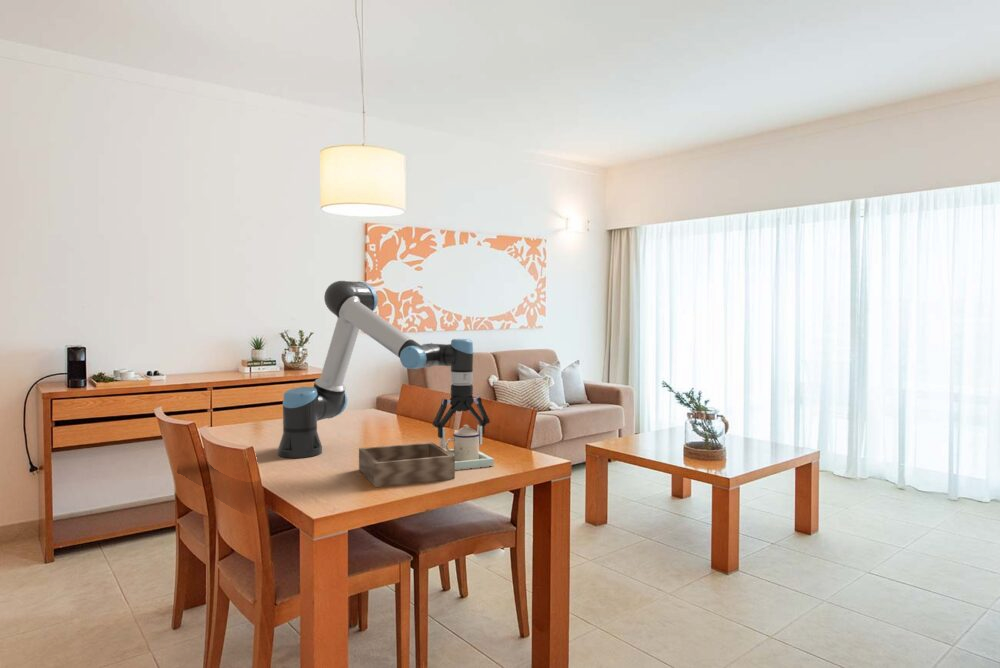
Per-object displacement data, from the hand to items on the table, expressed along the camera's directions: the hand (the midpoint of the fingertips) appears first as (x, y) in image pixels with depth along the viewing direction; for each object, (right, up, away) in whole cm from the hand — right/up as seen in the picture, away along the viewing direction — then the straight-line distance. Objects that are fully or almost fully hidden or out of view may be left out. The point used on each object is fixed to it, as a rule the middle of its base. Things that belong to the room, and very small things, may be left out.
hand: (461, 445), depth 217 cm
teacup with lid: (0, -5, 0) cm, 5 cm away
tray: (0, -6, 0) cm, 6 cm away
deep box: (-17, -6, -16) cm, 24 cm away
